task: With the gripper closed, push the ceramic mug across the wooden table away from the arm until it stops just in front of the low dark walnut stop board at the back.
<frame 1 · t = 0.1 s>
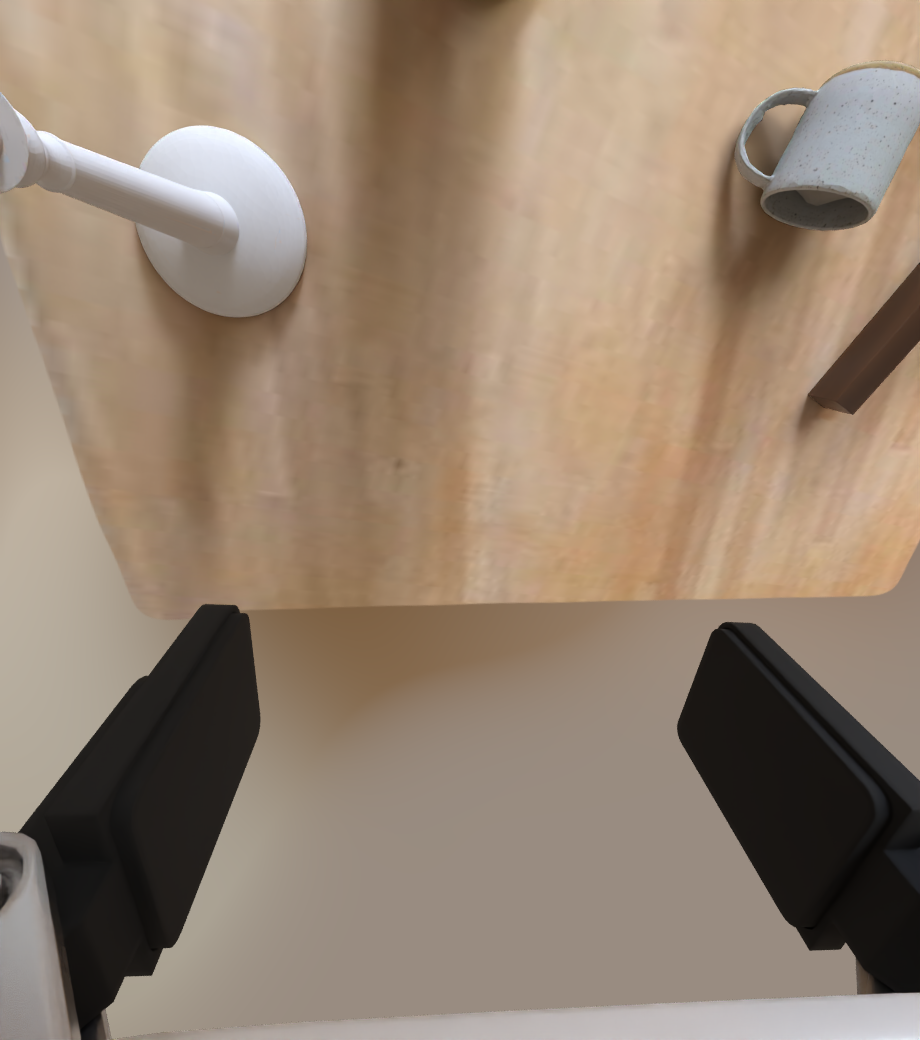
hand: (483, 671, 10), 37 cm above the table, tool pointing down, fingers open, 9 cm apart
stop board: (916, 284, 42), on the table
ceramic mug: (787, 165, 38), on the table
candlestick: (225, 229, 37), on the table
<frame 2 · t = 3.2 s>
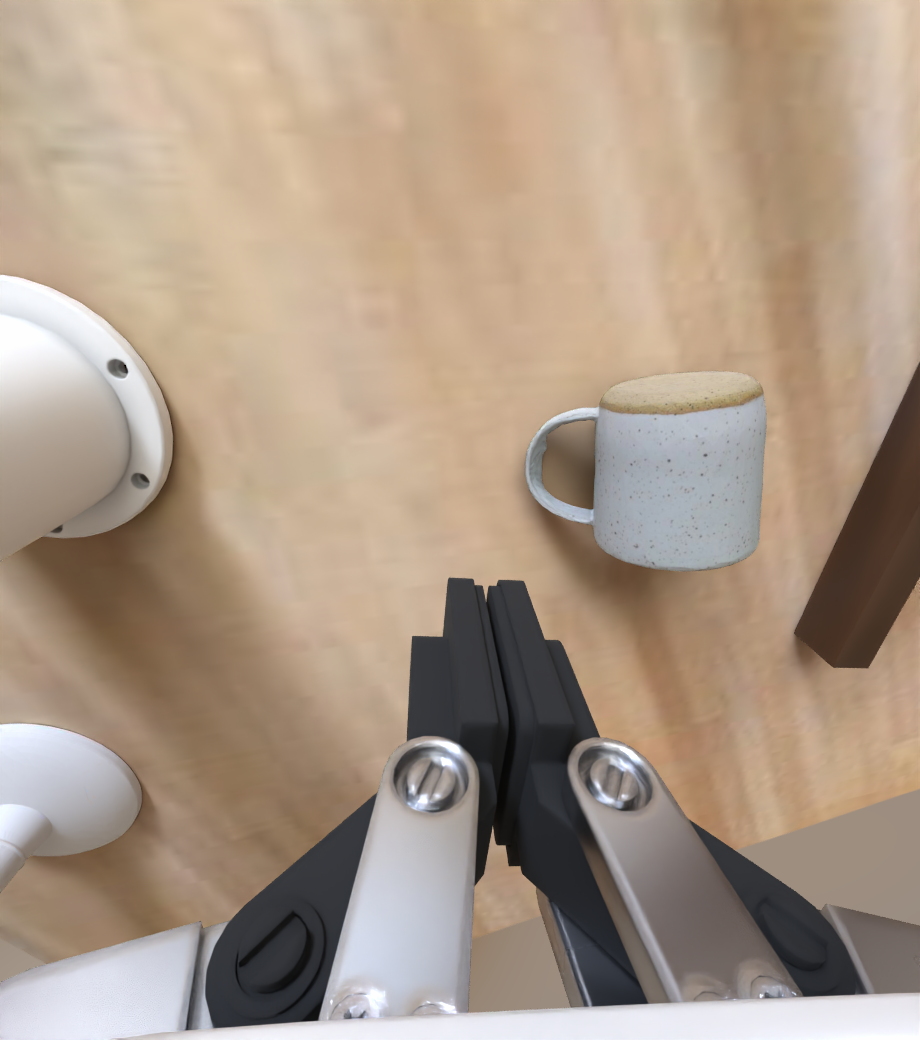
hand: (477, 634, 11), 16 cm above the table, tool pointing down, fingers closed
stop board: (887, 472, 28), on the table
ceramic mug: (616, 453, 27), on the table
candlestick: (48, 785, 34), on the table
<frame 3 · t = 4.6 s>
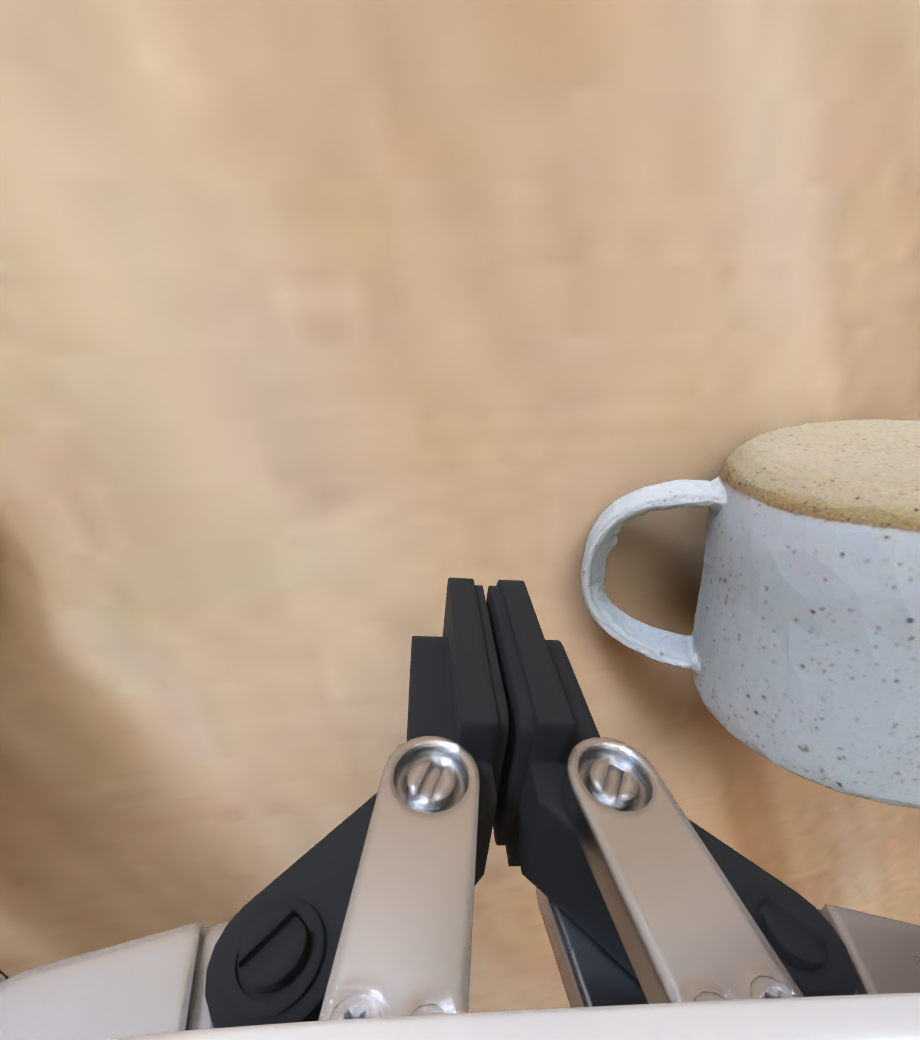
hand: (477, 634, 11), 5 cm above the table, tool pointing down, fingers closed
ceramic mug: (721, 540, 17), on the table
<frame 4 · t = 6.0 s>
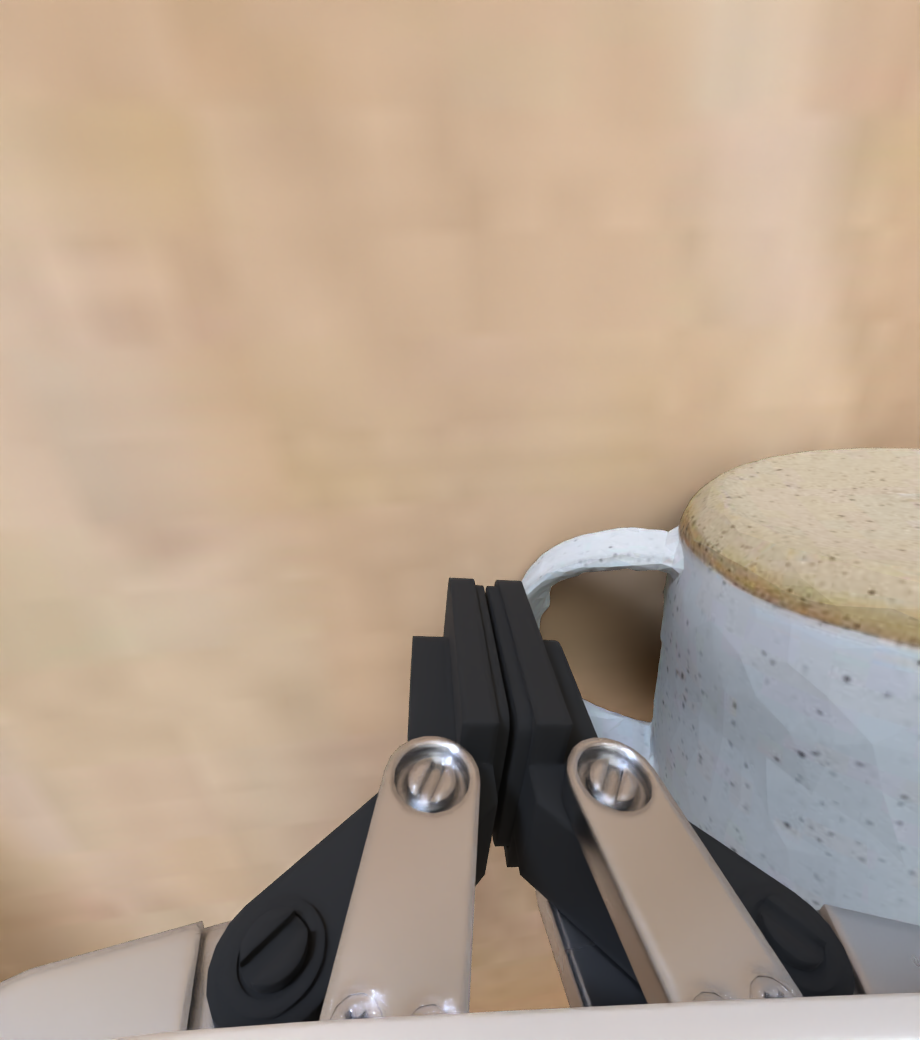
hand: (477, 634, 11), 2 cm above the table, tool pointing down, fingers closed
ceramic mug: (693, 596, 13), on the table, touching gripper
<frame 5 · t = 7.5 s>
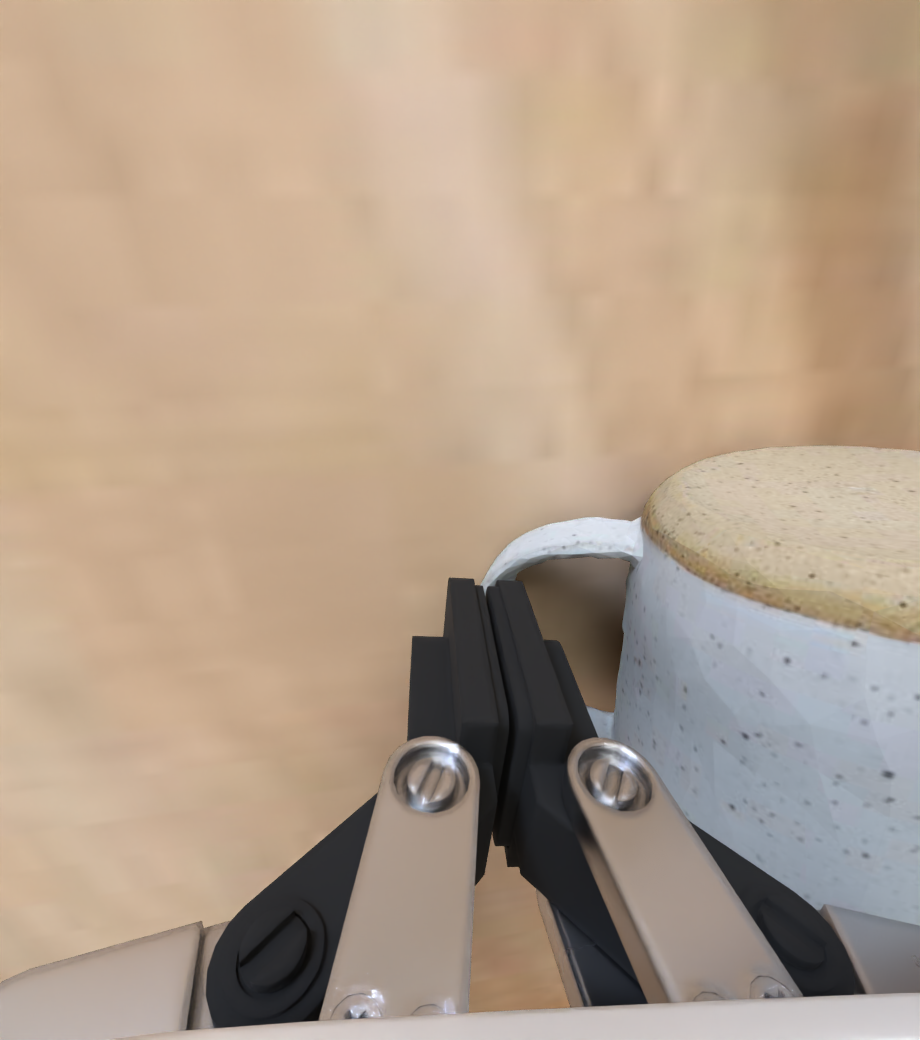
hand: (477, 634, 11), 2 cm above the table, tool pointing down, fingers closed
ceramic mug: (659, 590, 13), on the table, touching gripper
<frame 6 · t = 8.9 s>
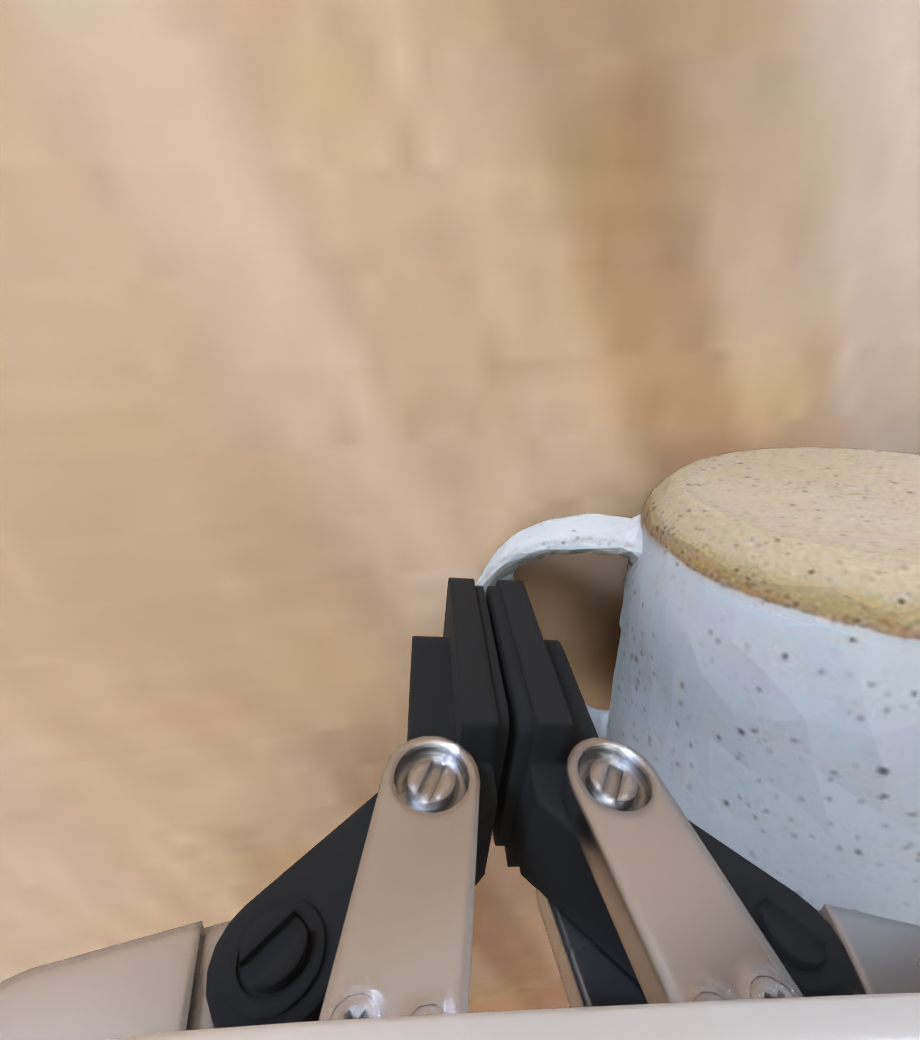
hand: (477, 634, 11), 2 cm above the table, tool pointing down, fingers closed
ceramic mug: (657, 589, 13), on the table, touching gripper
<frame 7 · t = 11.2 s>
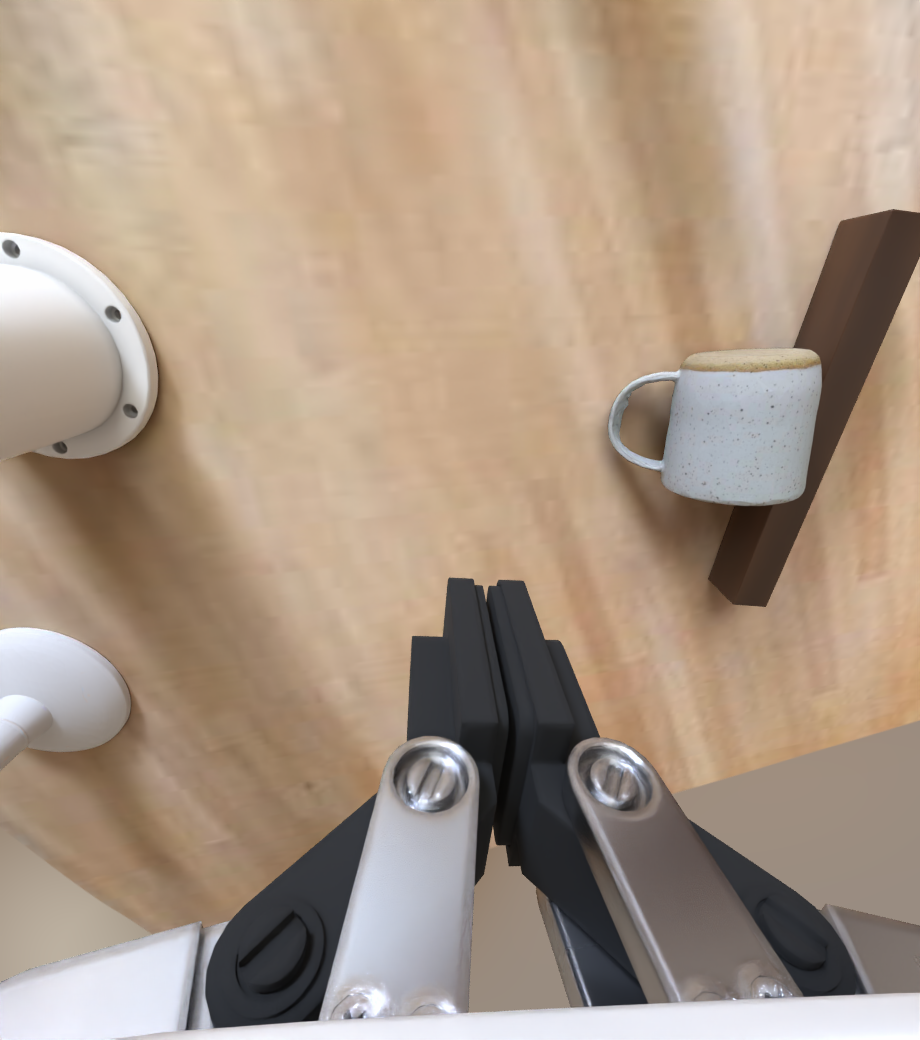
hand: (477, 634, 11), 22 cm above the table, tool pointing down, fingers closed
stop board: (781, 428, 32), on the table
ceramic mug: (683, 416, 32), on the table
candlestick: (52, 688, 39), on the table
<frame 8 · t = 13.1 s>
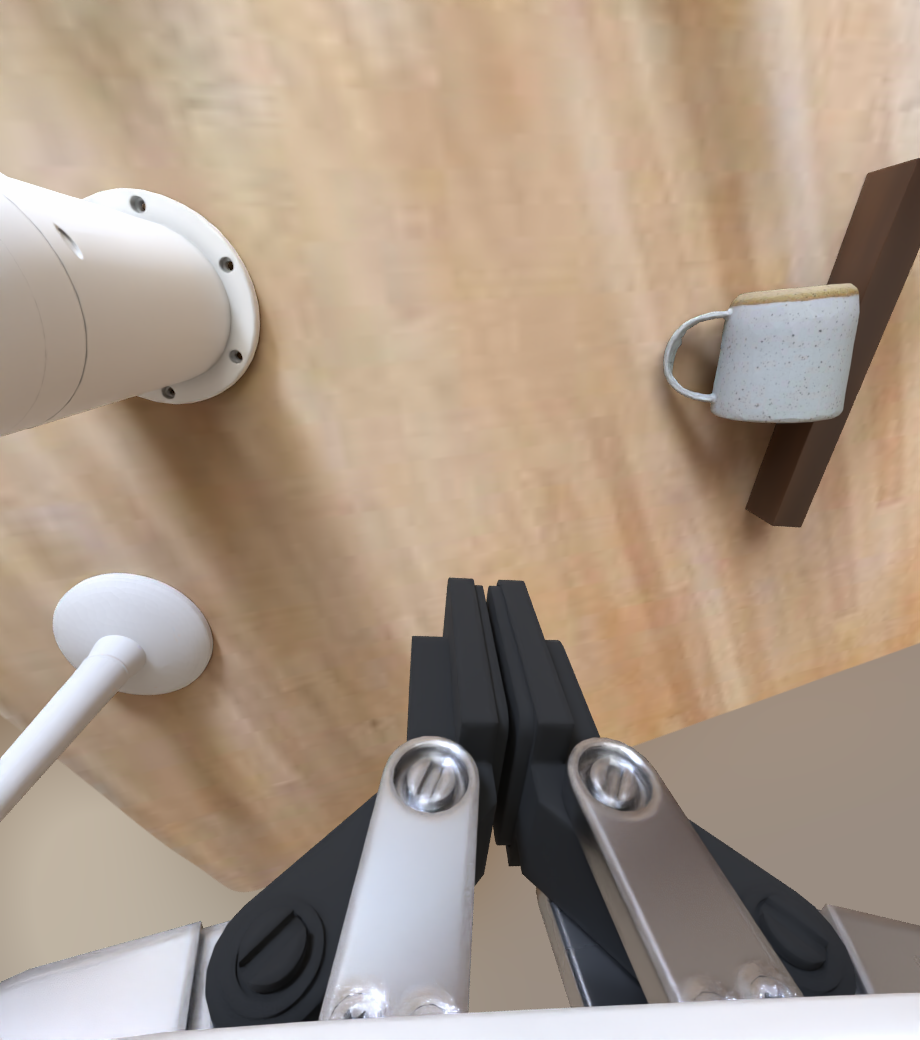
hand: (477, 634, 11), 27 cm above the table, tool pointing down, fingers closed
stop board: (813, 365, 36), on the table
ceramic mug: (727, 355, 35), on the table
candlestick: (138, 633, 42), on the table
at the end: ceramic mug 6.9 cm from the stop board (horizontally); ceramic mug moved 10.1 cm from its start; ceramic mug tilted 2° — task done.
